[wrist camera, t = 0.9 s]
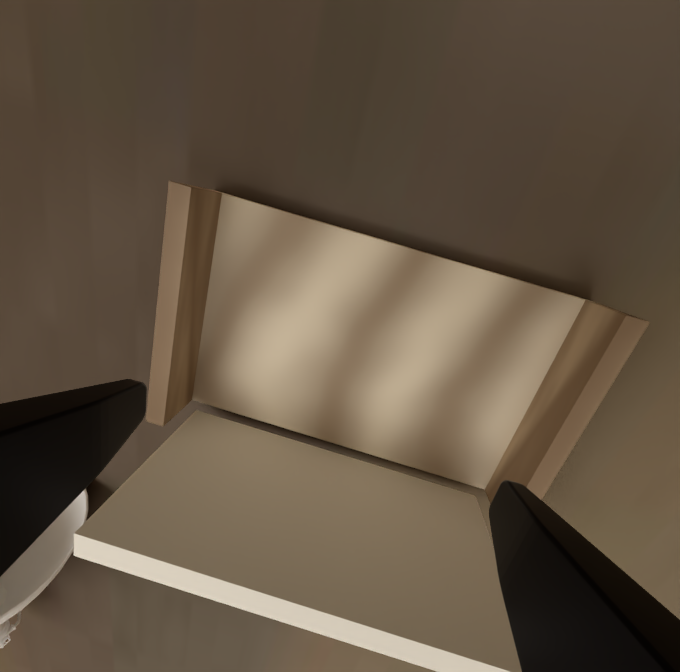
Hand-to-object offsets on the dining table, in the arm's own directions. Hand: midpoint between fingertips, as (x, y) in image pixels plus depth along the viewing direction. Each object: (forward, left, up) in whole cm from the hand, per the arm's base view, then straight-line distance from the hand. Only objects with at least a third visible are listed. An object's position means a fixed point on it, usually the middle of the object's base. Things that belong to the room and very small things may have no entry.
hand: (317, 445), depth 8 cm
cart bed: (-1, +2, -12) cm, 12 cm away
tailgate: (-1, +9, -11) cm, 14 cm away
